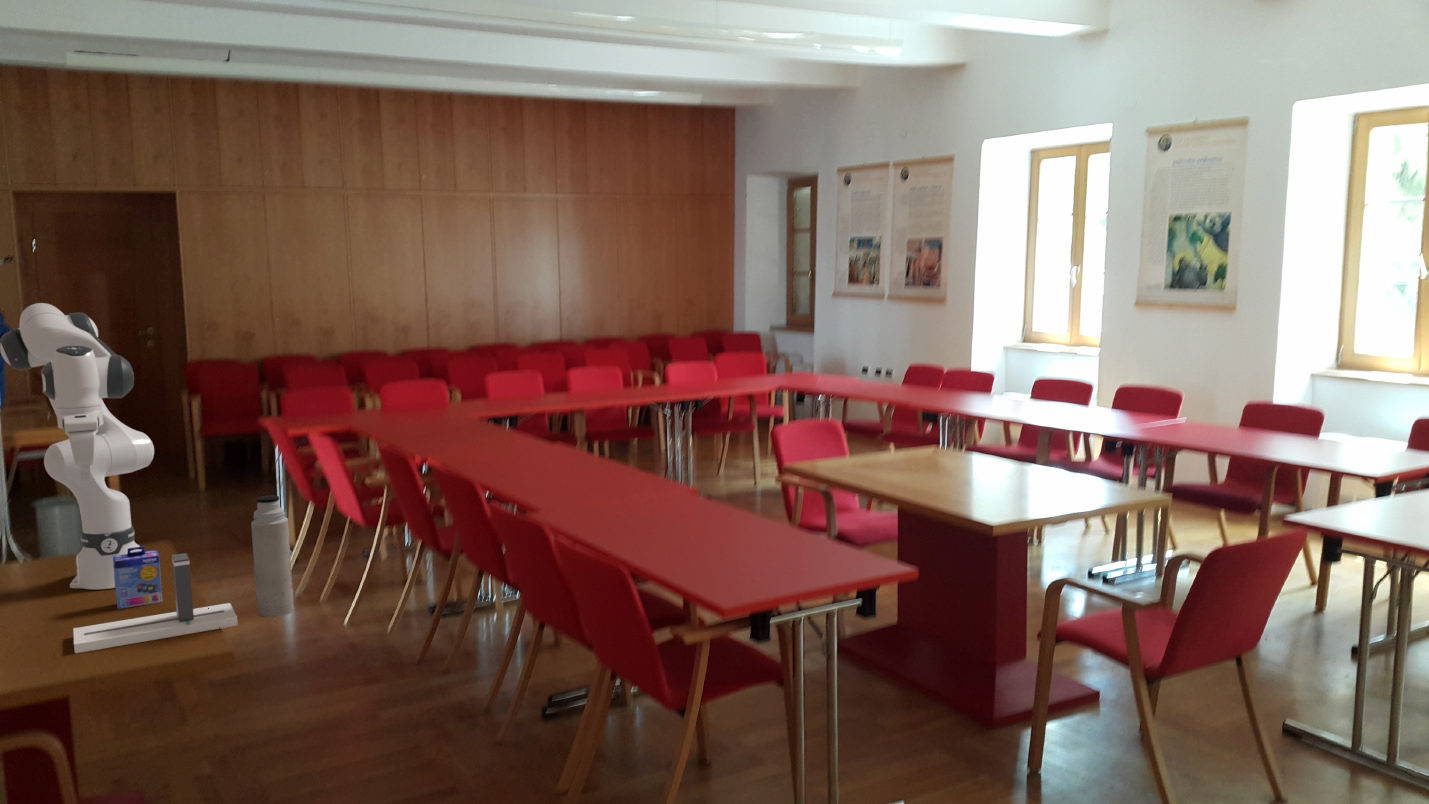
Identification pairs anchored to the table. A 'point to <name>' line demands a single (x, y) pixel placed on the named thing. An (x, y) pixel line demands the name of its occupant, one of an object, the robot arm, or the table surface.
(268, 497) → the thermos bottle
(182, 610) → the fader knob
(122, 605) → the ink cartridge box
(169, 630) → the fader board
